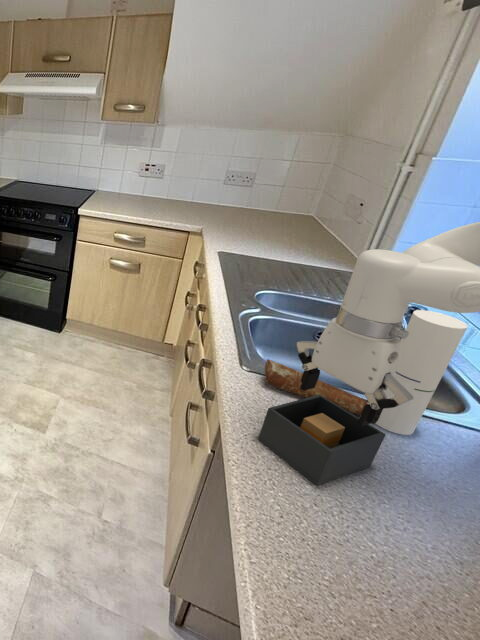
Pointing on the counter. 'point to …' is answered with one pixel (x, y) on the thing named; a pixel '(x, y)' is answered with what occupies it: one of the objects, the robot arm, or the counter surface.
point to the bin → (309, 452)
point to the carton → (323, 429)
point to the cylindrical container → (421, 366)
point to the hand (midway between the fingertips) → (334, 404)
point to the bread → (292, 382)
